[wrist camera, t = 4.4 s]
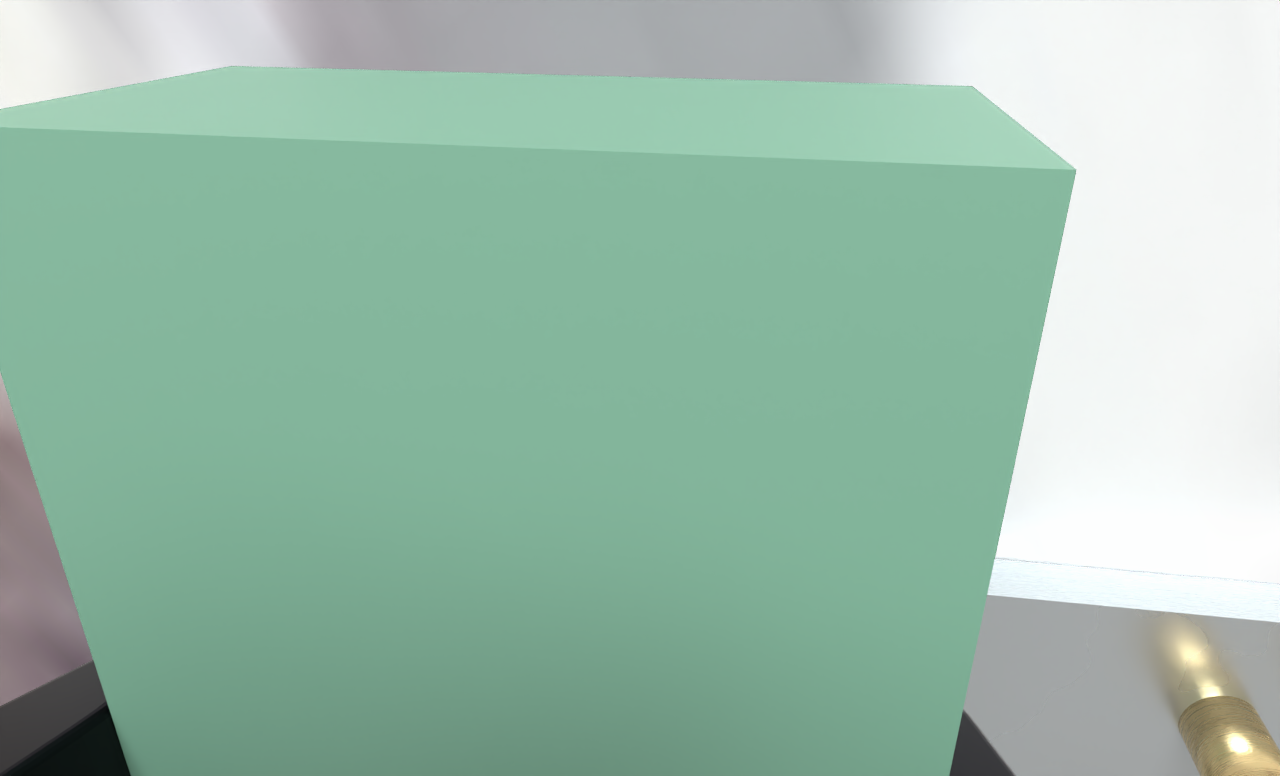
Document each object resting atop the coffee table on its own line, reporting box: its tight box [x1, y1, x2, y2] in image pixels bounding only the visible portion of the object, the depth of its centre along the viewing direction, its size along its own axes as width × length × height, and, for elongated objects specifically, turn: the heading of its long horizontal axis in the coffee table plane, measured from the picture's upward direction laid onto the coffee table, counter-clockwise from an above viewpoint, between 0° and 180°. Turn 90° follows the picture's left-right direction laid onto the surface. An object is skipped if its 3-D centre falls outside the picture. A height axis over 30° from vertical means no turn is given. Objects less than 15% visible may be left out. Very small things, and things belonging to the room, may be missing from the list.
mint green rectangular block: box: [0, 66, 1076, 776], centre depth 8 cm, size 10×6×3 cm, turn 179°
